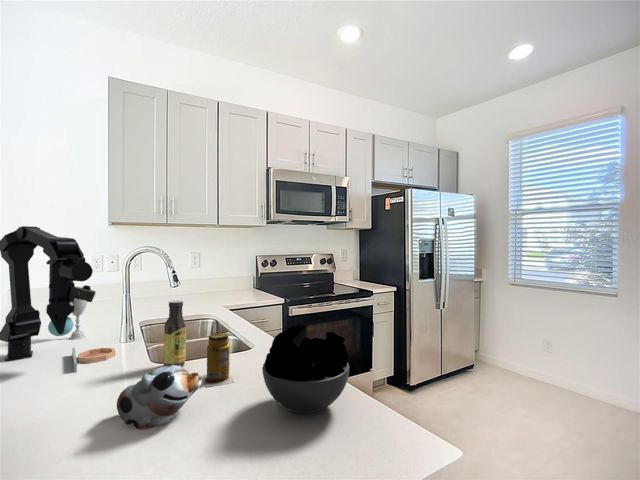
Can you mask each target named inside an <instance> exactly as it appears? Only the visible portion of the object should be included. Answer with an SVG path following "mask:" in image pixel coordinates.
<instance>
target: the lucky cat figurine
mask: <svg viewBox="0 0 640 480" xmlns="http://www.w3.org/2000/svg"><path fill="white" fill-rule="evenodd" d="M203 380H204V378H203V375H201V374H199V373H198V372H192V373H190V372H189V371H188V370H187V369H186V368H183V367H181V366H176V365H172V366H165V367H164V366H161V367H158V368H155V369H153V370H151V371H150V372H149V373H148V374H147V373H145V374H144V375H143V376H142V378H141V379H140V380H139V381H137V382H136V383H133V384H131V385H128V386H126V387H125V388H124V389H123V390H121V392H120V394H119V396H118V398H117V400H116V410H117V413H118V415H119V418H121V420H122V422H123V423H124V425H133V426H134V428H135V429H137V430H138V431H140V430H146V429H151V428H157V427H161V426H165V425H167V424H168V423H169V422H170V421H171V420H172V418H174V417H176V416H177V414H178V412H179V410H180V409H181V408H182V407H183V406H184V405H185V404H186V403H187V402H188V400H189V399H190V397H192V396H193V394H194V393H195V392H196V391H197V390H198V389H199V388H200V387H201V384H202V383H203V382H204V381H203Z"/></svg>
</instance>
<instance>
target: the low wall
mask: <svg viewBox="0 0 640 480" xmlns="http://www.w3.org/2000/svg"><path fill="white" fill-rule="evenodd" d="M71 350H72V351H71V354H72V355H71V356H72V363H73V372H74V373H77V372H78V363H77V362H78V359H77V354H76V349H75V347H72V349H71Z"/></svg>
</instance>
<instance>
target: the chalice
mask: <svg viewBox="0 0 640 480" xmlns="http://www.w3.org/2000/svg"><path fill="white" fill-rule="evenodd" d="M87 304H88V302H87V301H85V300H80V299H76V298H75V300H74V311H73V312H72V313H71V314H73V316H75V318H76V319H75V325H74V326H75V331H73V332H72V333H71V335H70V337H69V339H70V340H80V338H81V339H84V338H86V335H85V334H84V331H83V330H81V329H80V327H81V324H80V321H81V319H80V316H82V315H83V314H84V311H85V309H86V307H87ZM83 337H84V338H83Z"/></svg>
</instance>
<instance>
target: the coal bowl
mask: <svg viewBox="0 0 640 480" xmlns="http://www.w3.org/2000/svg"><path fill="white" fill-rule="evenodd" d="M307 327H308V325H301V324H298V325H294V326H290V327H288V328H287V329H285V330H284V331H283V332H278V334H276V335H275V337H274V338H273V340H272V343H271V346H270V348H269V352H268V353H267V354H266V357H265V360H264V363H263V365H262V376H263V381H264V383H265V387H266V389H267V391H268V392H269V394H270V396H271V397H272V398H273V399H274V400H275V401H276V403H278V404H279V405H281V406H282V407H283V408H285V409H287V410H289V411H292V412H295V413H299V414H300V413H301V414H310V413H312V414H313V413H316V412H318V411H322V410H324V409H326V408H328V407H329V406H330V405H332V404H333V403H335V401H336V400H338V398H339V397H340V396H341V394H342V393H343V392H344V389H345V387H346V384H347V383H348V379H349V374H350V364H349V362H348V358H349V356H348V355H349V354H348V352H347V347H346V344H345V341H346V339H345V338H344V336H341V335H338V334H336V332H332V331H327V332H326V333H325V338H321V337H320V338H319V337H312V338H309V337H305V338H303V339H302V340H301V342H300V344H299V346H298V345H297V344H296V343H294V342H293V341H294V339H295V337H297V335H299V334H300V333H301V332H302V331H303V330H304V329H305V328H307Z"/></svg>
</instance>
